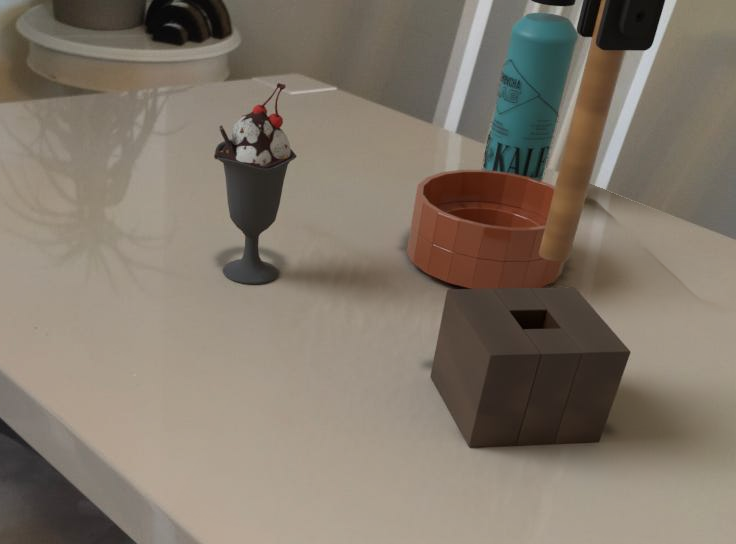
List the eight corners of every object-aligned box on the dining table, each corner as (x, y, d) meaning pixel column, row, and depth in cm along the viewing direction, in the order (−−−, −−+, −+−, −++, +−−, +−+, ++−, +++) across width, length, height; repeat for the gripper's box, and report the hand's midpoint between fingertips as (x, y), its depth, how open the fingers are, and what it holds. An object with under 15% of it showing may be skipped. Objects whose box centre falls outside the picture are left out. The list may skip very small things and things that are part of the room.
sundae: (301, 269, 88) (316, 83, 77) (263, 295, 83) (274, 103, 73) (238, 250, 90) (245, 68, 79) (198, 275, 86) (200, 86, 75)
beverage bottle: (502, 183, 106) (550, -36, 92) (551, 203, 103) (608, -22, 89) (462, 195, 103) (506, -31, 89) (511, 215, 100) (564, -16, 86)
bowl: (528, 233, 97) (543, 169, 92) (583, 297, 87) (603, 229, 82) (389, 234, 95) (399, 169, 90) (430, 300, 85) (443, 230, 80)
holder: (549, 373, 76) (574, 286, 71) (599, 442, 69) (631, 351, 65) (429, 376, 75) (446, 289, 70) (468, 447, 68) (490, 355, 63)
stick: (539, 248, 65) (620, -84, 53) (569, 252, 65) (659, -80, 52) (537, 259, 64) (621, -78, 51) (568, 264, 64) (660, -74, 51)
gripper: (928, -444, 38) (742, 84, 51) (727, -418, 49) (616, 9, 62) (750, -459, 37) (607, 83, 50) (586, -429, 48) (504, 8, 61)
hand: (613, 39), depth 56 cm, fingers closed on stick, 2 cm apart
